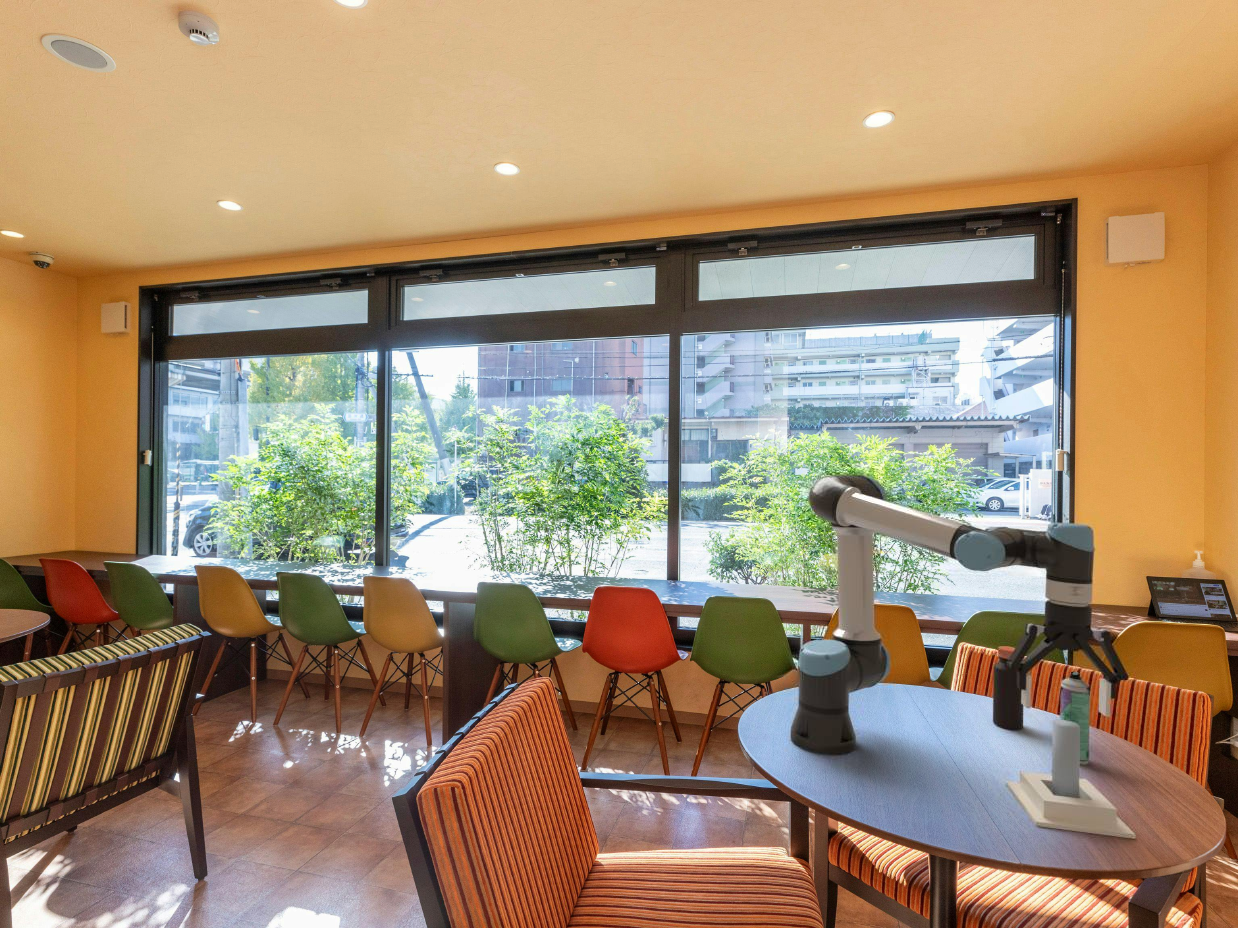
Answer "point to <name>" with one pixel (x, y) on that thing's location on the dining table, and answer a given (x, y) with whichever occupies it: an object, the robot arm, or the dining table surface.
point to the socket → (1067, 807)
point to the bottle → (1006, 693)
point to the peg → (1065, 758)
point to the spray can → (1077, 709)
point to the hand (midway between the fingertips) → (1064, 710)
